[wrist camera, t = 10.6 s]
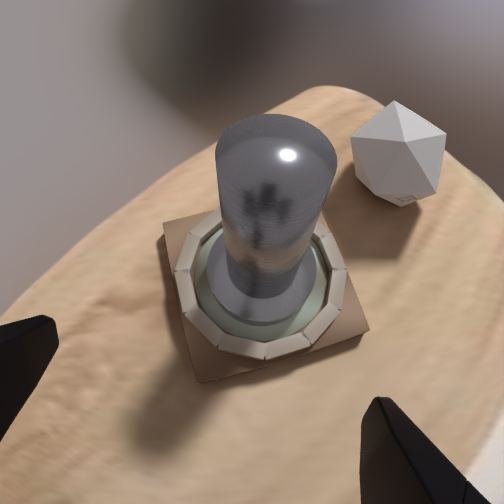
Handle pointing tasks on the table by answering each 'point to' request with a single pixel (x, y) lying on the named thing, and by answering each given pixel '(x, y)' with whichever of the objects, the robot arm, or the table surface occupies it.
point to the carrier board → (248, 336)
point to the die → (398, 155)
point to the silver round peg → (268, 216)
